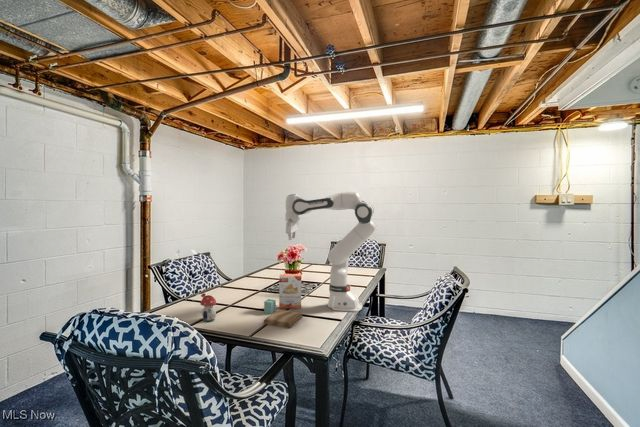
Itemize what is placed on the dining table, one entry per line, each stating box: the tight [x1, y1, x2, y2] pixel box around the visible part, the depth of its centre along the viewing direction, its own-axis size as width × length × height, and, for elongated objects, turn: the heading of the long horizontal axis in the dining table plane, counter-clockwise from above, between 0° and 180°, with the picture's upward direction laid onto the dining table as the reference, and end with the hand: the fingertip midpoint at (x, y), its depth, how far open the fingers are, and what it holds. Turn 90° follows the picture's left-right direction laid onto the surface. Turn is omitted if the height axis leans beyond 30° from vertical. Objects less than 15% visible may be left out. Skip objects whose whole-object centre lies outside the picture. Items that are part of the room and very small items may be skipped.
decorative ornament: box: [199, 293, 217, 323], centre depth 171 cm, size 9×6×15 cm
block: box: [263, 298, 277, 315], centre depth 184 cm, size 5×5×7 cm
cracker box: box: [278, 273, 302, 310], centre depth 192 cm, size 14×6×21 cm, turn 94°
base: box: [263, 309, 303, 329], centre depth 171 cm, size 16×16×3 cm
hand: (291, 239), depth 201 cm, fingers open, 8 cm apart
